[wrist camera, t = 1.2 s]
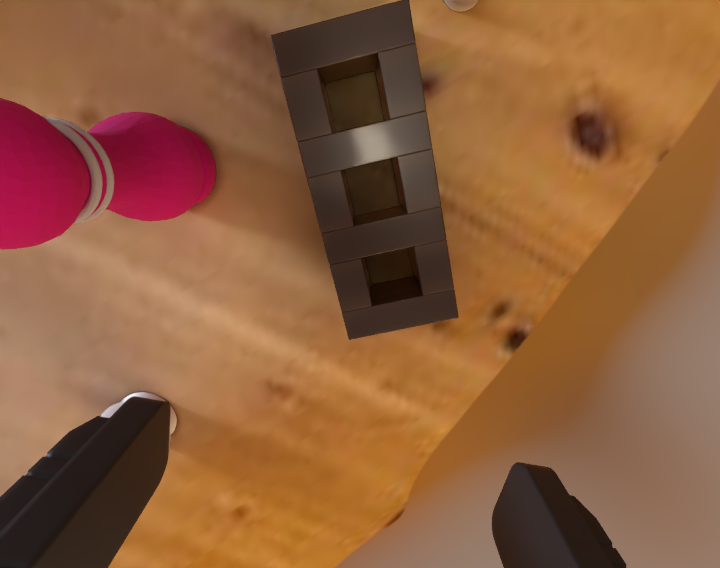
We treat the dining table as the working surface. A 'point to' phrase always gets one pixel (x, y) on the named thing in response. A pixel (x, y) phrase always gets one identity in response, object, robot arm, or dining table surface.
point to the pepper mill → (94, 172)
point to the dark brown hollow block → (363, 146)
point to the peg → (460, 4)
